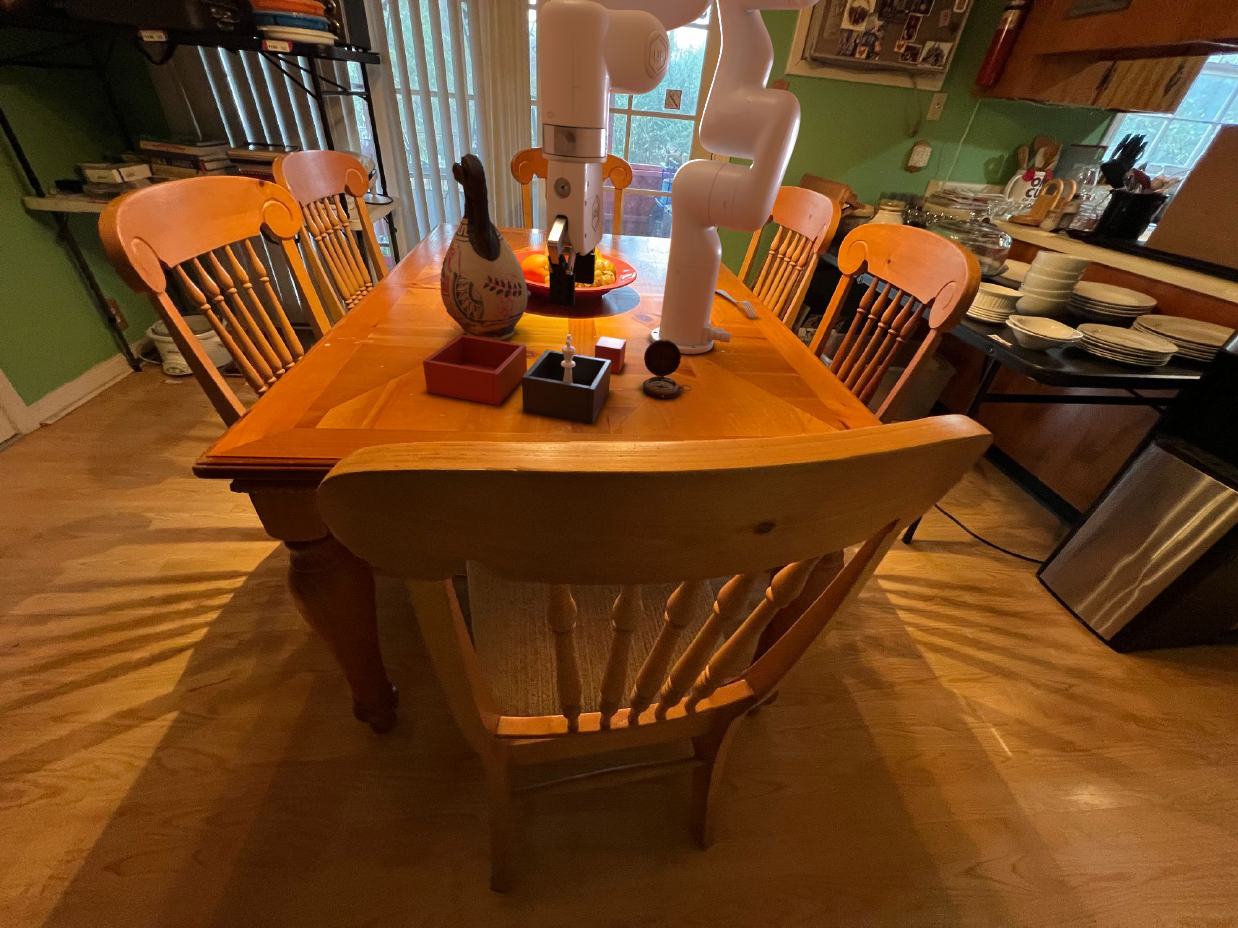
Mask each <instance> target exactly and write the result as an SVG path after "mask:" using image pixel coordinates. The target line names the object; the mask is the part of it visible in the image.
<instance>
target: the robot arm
mask: <svg viewBox="0 0 1238 928" xmlns="http://www.w3.org/2000/svg"><path fill="white" fill-rule="evenodd" d="M714 1H715V0H547V1H546V2H545V3H544V4H543V5H542V7H541V10H540V12H539V13H540V14H539V53H540V54H539V58H540V59H539V60H540V99H541V100H540V102H541V105H540V106H541V110H540V111H541V147H542V148H541V150H542V151H541V152H542V155H541V156H542V159H545V160H547V161H548V162H547V176H546V177H547V178H546V202H545V203H546V211H545V213H546V215H545V216H546V218H545V219H546V221H545V222H546V224H545V225H546V227H545V229H546V247H547V251H548V255H547V261H548V267H547V268H548V269H547V270H548V274H549V275H548V280H549V282H548V283H549V284H548V285H549V303H550V304H552V305H558V306H566V307H573V306H574V305H575V304H576V283H577V284H584V285H593V284H594V283H595V274H596V254H595V253H596V247H597V246H598V245H599V244H600V243H601V241H602V239H603V234H604V182H603V181H604V179H603V178H604V176H603V163H606V162H607V160H608V158H607V157H608V137H609V136H608V135H609V114H610V94H612V95H613V94H614V95H623V96H641V95H645V94H648V93H650V92H652V91H653V90H655V89H657V88H658V86H659V85H660V84H661V83H662V82H663V80H664V78H665V77H666V75H667V72H668V70H669V66H670V62H671V61H670V60H671V43H670V38H669V34H668V32H671V31H673V30H676V29H680V28H682V27H684V26H687V25H689V24H692V23H694V22H695V21H697V20H698V19H700V18H701V17H702V16H703V15H704V14H705V12H707V10H708V9H709V8H710V7H711V5H712V4H713V3H714ZM819 1H820V0H716V5H717V11H718V18H719V27H720V34H721V36H720V37H721V45H720V53H719V58H718V62H717V65H716V69H715V72H714V76H713V79H712V82H711V86H710V90H709V91H708V96H707V99H706V103H705V105H704V106H705V107H704V109H703V113H702V117H701V120H700V125H699V130H698V134H699V143H700V145H701V147H702V148H703V149H705V150H706V151H707V152H709V153H712V154H714V155H719V156H723V157H730V158H736V159H737V158H738V159H743V160H751V161H752V164H751V165H746V164H738V163H732V162H727V161H719V160H713V159H703V158H702V159H701V158H699V159H693V160H689V161H687V162H685V163H683V164H682V165H681V166H680V167H679V168H678V169H677V171H676V172H675V174H674V176H673V180H672V184H671V191H670V199H671V200H670V201H671V202H670V203H671V235H670V244H669V254H668V261H667V269H666V275H665V283H664V290H663V291H664V292H663V299H662V307H661V315H660V321H659V327H656V328H654V329H653V330H652V331H651V333H650V340H651V343H653V342H654V341H657V340H662V339H666V340H670V341H672V342H673V343H675V344H676V346H677V347H678V349H679V351H680V354H684V355H685V354H687V355H697V354H703V353H706V352H708V351H710V350H711V349H713V346H714V341H719V342H722V343H728V344H729V343H730V339H731V334H732V332H729V331H726V329H725V328H720V327H714V325H711V324H712V319H711V315H712V309H713V305H714V299H715V293H716V291H715V290H717V289H716V288H717V283H718V277H719V272H720V267H721V261H722V255H723V247H722V242H721V239H720V235H719V232H718V231H717V228H721V229H722V228H723V229H725V230H726V229H727V230H731V231H736V232H741V233H755V232H758V231H759V230H761V229H762V228H763V227H764V226H765V224H766V223H767V222H768V219H769V218H770V216H771V213H772V210H773V209H774V206H775V202H776V200H777V197H778V195H779V192H780V188H781V186H782V184H783V183H782V182H783V180H784V177H785V174H786V171H787V170H788V166H789V162H790V160H791V157H792V154H793V151H794V149H795V145H796V142H797V139H798V135H799V130H800V125H801V116H802V115H801V114H802V113H801V111H802V110H801V106H800V105H801V104H800V101H799V99H798V97H797V96H796V95H795V94H794V93H793V92H791V91H789V90H785V89H781V88H767V85H768V81H769V78H770V74H771V71H772V68H773V65H774V59H775V53H774V47H773V42H772V39H771V36H770V33H769V30H768V29H767V27H766V24H765V22H764V20H763V18H762V17H763V16H762V15H761V11H792V10H793V11H797V10H807V9H809V8H812V7H813V6H815V5H816V4H817V3H818V2H819ZM566 257H567V258H566Z"/></svg>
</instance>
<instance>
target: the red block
mask: <svg viewBox="0 0 1238 928" xmlns="http://www.w3.org/2000/svg"><path fill="white" fill-rule="evenodd" d="M626 345H627V340H626V339H622V338H615V337H609V336H603V335H601V336H600V337H599V339H598V340H597V342H596V344H595V345H594V357H595V358H601V359H606V360H611V373H613V374H620V372H621V371H622V368H623V367H624V365H625V357H626V349H627V348H626V347H627V346H626Z"/></svg>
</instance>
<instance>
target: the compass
mask: <svg viewBox="0 0 1238 928" xmlns="http://www.w3.org/2000/svg"><path fill="white" fill-rule="evenodd" d="M643 354H644V355H643V361H644V366H645V368H646V369H647V371H648V372H649V373H651V374H652V375H654V376H651V377H649V378H647V379H645V380H644V381H643V382H642V390H643V392H645V393H646V394H647V395H649V396H650V397H654V398H658V399H670V398H671V399H672V398H675V397H677V396H678V395H679V394H680V392H681V390H683V391H686V392H687V391H691V390H692V387H691V386H690V385H688V384H681V385H679V383H678V382H676V381H675V380H674V379H672V378H670V377H668V376H670V375H672V374H673V373H675V372H676V371H677V370H678V369H679V367H680V365H681V359H682V353H680V351H679V349H678V347H677V346H676V344H675V343H673V342H672V341H670V340H666V339H662V340H657V341H654V342H651V343H650V344H649V345H648V346H647V348H646V349H645V351H644V353H643ZM685 387H688V388H689V389H685Z"/></svg>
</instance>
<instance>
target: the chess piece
mask: <svg viewBox="0 0 1238 928" xmlns="http://www.w3.org/2000/svg"><path fill="white" fill-rule="evenodd" d="M572 340H573V337H572V335H571V334H567V335H566V340H565V345H564V346H562V347H561V352H563V355H564V359H565V360H564V361H562V362H561V365H562V366H563V367H565V372H564V379H563V382H567V383H573V379H572V367H574V366H575V365H576V364H575V362H574V361H572V359H573V356H574V354H576V351H577V350H576V348H575V346H572V344H571V343H572Z"/></svg>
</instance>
